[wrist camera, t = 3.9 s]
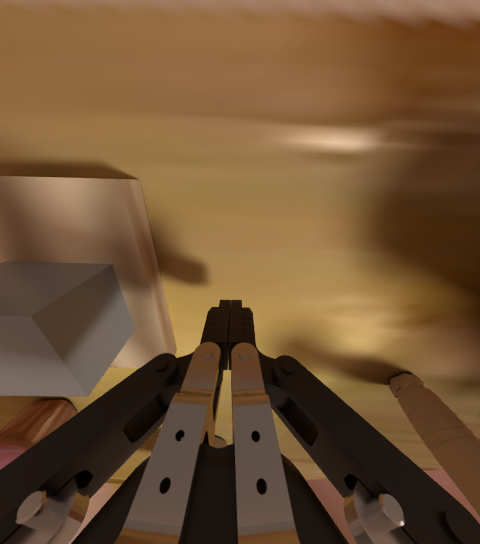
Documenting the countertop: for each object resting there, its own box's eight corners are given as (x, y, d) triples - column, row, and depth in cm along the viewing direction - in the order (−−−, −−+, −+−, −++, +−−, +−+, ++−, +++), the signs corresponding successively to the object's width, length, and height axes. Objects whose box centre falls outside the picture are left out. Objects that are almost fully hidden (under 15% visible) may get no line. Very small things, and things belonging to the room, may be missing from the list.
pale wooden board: (139, 179, 11) (119, 179, 9) (176, 349, 18) (169, 367, 17) (-87, 173, 11) (-151, 171, 9) (43, 347, 18) (22, 365, 16)
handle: (368, 391, 22) (561, 710, 9) (400, 360, 19) (762, 766, 6) (401, 396, 22) (633, 705, 9) (437, 366, 20) (852, 754, 6)
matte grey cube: (111, 263, 11) (30, 316, 7) (135, 329, 14) (88, 396, 10) (4, 261, 11) (-146, 312, 7) (49, 328, 14) (-38, 395, 10)
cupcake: (77, 387, 22) (-35, 529, 13) (105, 420, 26) (34, 546, 17) (8, 389, 22) (-149, 530, 13) (47, 421, 26) (-53, 546, 17)
